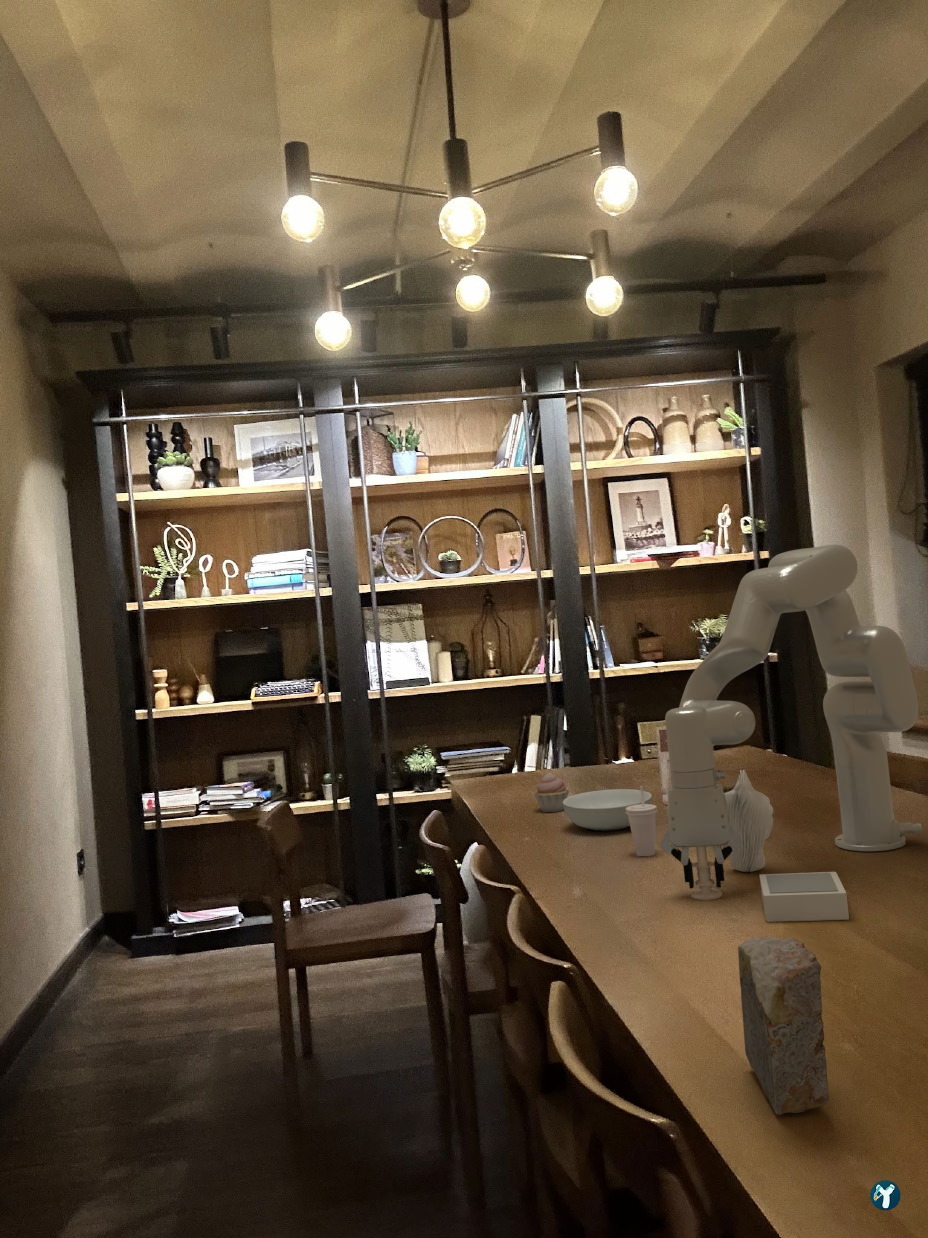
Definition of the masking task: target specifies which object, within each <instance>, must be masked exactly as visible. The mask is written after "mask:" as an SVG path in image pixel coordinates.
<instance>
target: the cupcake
mask: <svg viewBox="0 0 928 1238" xmlns="http://www.w3.org/2000/svg"><path fill="white" fill-rule="evenodd" d="M536 790H537V791H536V792H535V793H533V795H534V796H535V799H536V801H537V803H538V804H539V808H540V811H541V812H543V813H548V812H552V813H559V812H562V811H565V810H564V806H563V801H564V800H565V799H566V798H568V797H569V793H570V790H568V789H567V786H566V784H565V783H564V781H563V780H562V779H561V778H560V777H556V775H554V774H553V773H552V772H551V771H549V772H548V773H546V774H545V775H544V776H543V777H542V778H541V779H540V782H539V783H538V785H537V786H536Z"/></svg>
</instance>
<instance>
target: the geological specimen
mask: <svg viewBox="0 0 928 1238" xmlns="http://www.w3.org/2000/svg"><path fill="white" fill-rule="evenodd" d="M737 954H738V969H739V970H738V971H739V984H740V999H741V1000H740V1001H741V1008H742V1009H741V1012H742V1023H743V1040H744V1053H745V1056H746V1058H747V1061H748V1063H749V1065H750V1068H751V1069H752V1070H753V1071H754V1074H755V1075H756V1077H757V1079H758V1081H759V1084H760V1085H761V1088H762V1091H763V1093H764V1094H765V1095H766V1096H767V1097H766V1098H767V1099H768V1102H769V1103H770V1105H771V1107H772V1108H773V1111H774V1113H775V1115H781V1116H782V1115H784V1114H787V1113H792V1114H799V1113H802V1112H805V1111H807V1110H811V1109H817V1108H819V1107H823V1106H825V1105H828V1103H829V1101H830V1099H829V1098H830V1096H829V1084H828V1083H829V1082H828V1074H827V1072H828V1067H827V1066H828V1065H827V1059H826V1046H825V1045H824V1041H825V1033H824V1027H825V1026H824V1022H823V1018H822V1015H823V1014H822V1013H823V1003H822V1001H823V999H822V997H823V996H822V982H821V981H822V980H821V971H822V966H821V964H820V962H819V961H818V960H819V959H818V958H817V956H816V955H815V953H813V952H812V951H811V950H809V949H807V948H806V946H805V943H804V942H803V941H799V940H798V939H796V938H795V937H792V936H791V937H789V938H786V939H784V938H778V937H775V936H766V937H750V938H749V939H747V940H745V941H744V942H742V943H741V944H740V945H738V946H737Z"/></svg>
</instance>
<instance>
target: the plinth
mask: <svg viewBox="0 0 928 1238" xmlns="http://www.w3.org/2000/svg"><path fill="white" fill-rule="evenodd" d="M759 884H760V893H761V900H762V905H763V911H764V918H765V920H766V922H767V923H770V922H772V923H773V922H803V921H804V922H806V921H840V920H841V921H842V920H844V921H847V920H850V917H849V916H850V915H849V907H848V898H847V892H846V890H845V889H846V888H844V886H843V883H842V882H841V879H840V877H839V876H838V873H837V872H836V871H821V872H819V871H818V872H797V873H796V872H795V873H794V872H793V873H770V874H769V873H768V874H767V873H766V874H763V873H762V874H759Z"/></svg>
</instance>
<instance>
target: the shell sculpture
mask: <svg viewBox="0 0 928 1238" xmlns="http://www.w3.org/2000/svg"><path fill="white" fill-rule="evenodd" d="M739 771H740V772H739V773H740V774H739V775H738V778H737V781H735V785H734V786H733V788H732V789H731V790H730V791H729V790H728V791H725V792H724V795H725V800H726V805H727V811H728V817H729V824H730V826H731V827H732V828H733V830H734V831H735V832H736V833H737V834H738V836H739V837H740V838H741V839H742V843H743V844H742V845H741V846H740V847H738V848H737V849H736V850H734V851H733V852H732V853H731V854H730V867H732V868H733V869H734V870H735V871H736V870H737V871H740V872H745V873H749V872H750V873H753V872H755V871H760V870H761V869H763V868H765V866H766V859H765V858H766V857H765V852H764V846H765V843H766V841H765V840H766V839H769V837H770V835H771V832H772V829H773V826H774V818H773V816H772V815H773V814H774V808H773V806H772V805H771V804H770V803H771V802H770V800H771V799H770V798H769V797H768V796H767V795H765V794H764V793H762V792H760V791H758V790H755V789H754V786H752V783H751V781H750V779H749V777H748V774H747V771H746V770H745V769H743V770H742V769H740V770H739ZM731 841H732V840H731V838H730V841H729V843H730V842H731ZM729 843H728V844H729ZM746 871H747V872H746Z"/></svg>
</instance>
